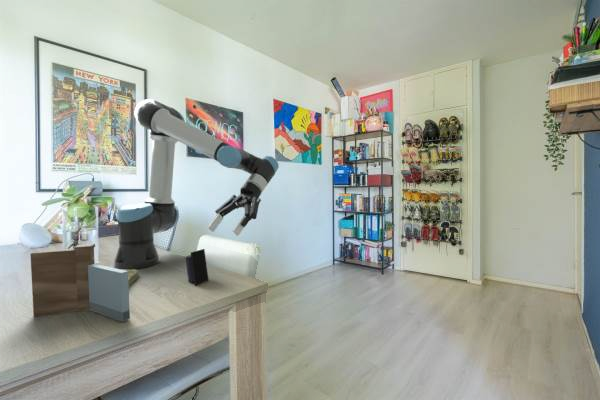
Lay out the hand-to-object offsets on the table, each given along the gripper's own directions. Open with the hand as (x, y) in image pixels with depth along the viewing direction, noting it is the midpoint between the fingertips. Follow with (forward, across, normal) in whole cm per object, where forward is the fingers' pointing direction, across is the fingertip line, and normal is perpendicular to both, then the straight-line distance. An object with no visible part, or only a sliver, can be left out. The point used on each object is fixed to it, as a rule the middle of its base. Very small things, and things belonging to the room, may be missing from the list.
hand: (222, 231), depth 97 cm
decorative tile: (+34, +18, +12) cm, 40 cm away
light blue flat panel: (+36, -5, +16) cm, 39 cm away
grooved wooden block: (+40, +6, +19) cm, 45 cm away
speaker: (+18, 0, -3) cm, 18 cm away
